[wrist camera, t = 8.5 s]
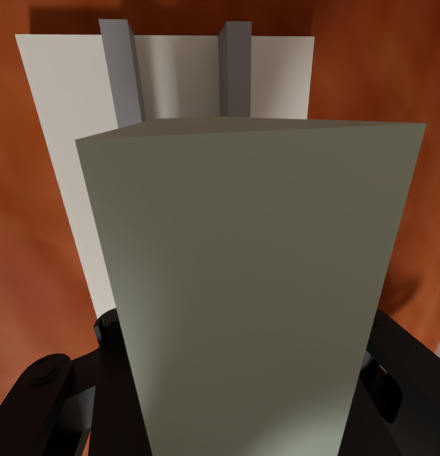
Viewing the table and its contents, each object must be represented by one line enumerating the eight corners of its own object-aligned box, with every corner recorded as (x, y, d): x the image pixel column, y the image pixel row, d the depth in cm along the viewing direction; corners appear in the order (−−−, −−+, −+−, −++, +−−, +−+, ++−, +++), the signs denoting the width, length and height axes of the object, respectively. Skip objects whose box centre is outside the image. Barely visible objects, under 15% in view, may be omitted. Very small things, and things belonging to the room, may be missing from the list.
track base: (29, 41, 14) (-19, 17, 11) (302, 43, 17) (339, 22, 13) (111, 338, 23) (99, 379, 20) (281, 312, 25) (299, 344, 22)
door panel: (156, 118, 13) (74, 140, 2) (216, 116, 13) (426, 123, 2) (182, 332, 18) (198, 643, 8) (223, 325, 19) (295, 610, 8)
